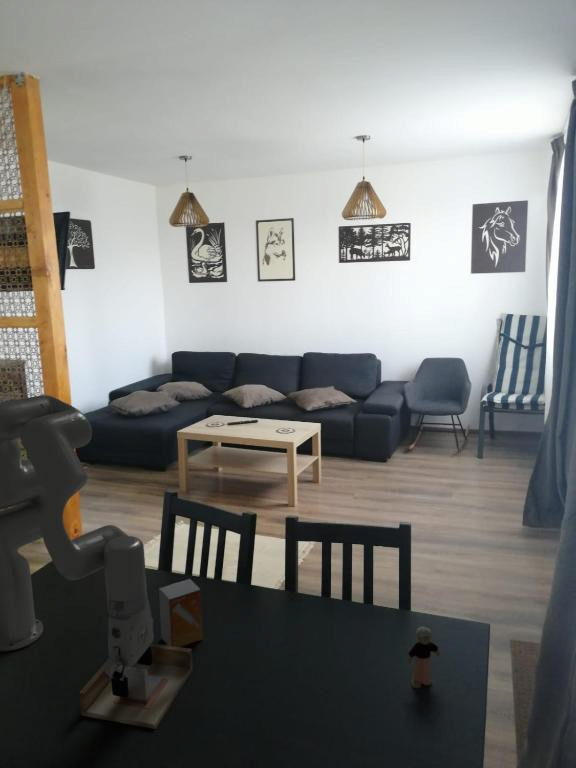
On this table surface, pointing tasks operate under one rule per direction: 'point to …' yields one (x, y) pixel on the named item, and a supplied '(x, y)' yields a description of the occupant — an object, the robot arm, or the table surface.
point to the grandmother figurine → (422, 657)
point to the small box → (180, 613)
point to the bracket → (140, 685)
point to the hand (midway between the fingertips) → (133, 679)
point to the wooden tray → (104, 705)
